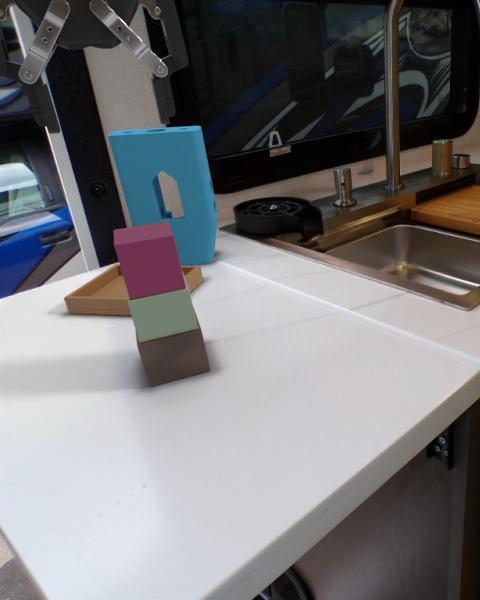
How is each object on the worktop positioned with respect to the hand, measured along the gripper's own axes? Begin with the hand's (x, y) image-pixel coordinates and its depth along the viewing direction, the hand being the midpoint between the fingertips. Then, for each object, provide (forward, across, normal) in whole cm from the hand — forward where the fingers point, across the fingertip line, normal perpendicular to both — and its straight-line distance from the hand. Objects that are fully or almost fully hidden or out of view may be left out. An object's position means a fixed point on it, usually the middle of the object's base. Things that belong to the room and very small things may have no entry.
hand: (111, 127), depth 45 cm
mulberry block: (+15, 0, 0) cm, 15 cm away
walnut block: (+25, 0, 0) cm, 25 cm away
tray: (+25, +2, -21) cm, 33 cm away
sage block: (+20, 0, 0) cm, 20 cm away
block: (+25, -5, -32) cm, 41 cm away
